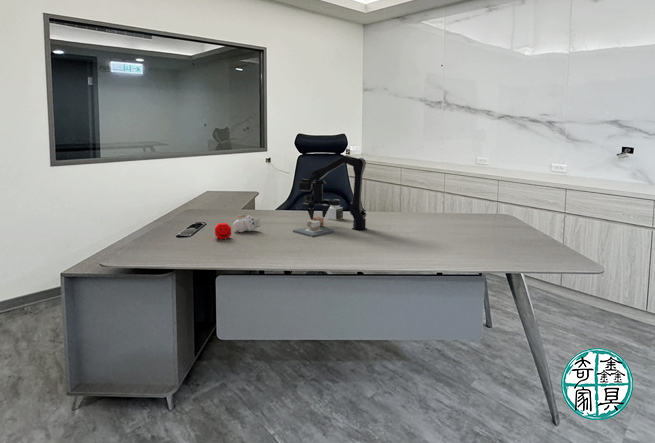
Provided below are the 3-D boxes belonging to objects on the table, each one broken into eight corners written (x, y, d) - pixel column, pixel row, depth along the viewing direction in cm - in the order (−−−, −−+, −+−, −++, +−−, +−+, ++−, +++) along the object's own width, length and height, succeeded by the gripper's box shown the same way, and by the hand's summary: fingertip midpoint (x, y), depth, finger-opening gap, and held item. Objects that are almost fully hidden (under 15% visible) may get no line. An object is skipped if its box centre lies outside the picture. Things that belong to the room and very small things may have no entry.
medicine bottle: (336, 220, 302) (336, 201, 300) (326, 218, 306) (327, 199, 304) (343, 218, 308) (343, 199, 305) (333, 217, 312) (333, 198, 309)
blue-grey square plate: (334, 232, 271) (334, 230, 271) (312, 237, 260) (312, 234, 260) (314, 227, 282) (314, 225, 282) (292, 231, 272) (292, 229, 271)
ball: (215, 240, 252) (215, 225, 250) (214, 236, 259) (214, 222, 258) (231, 239, 254) (231, 225, 252) (230, 236, 261) (230, 221, 260)
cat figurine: (230, 215, 269) (258, 211, 270) (232, 219, 276) (259, 216, 278) (232, 231, 266) (260, 227, 267) (234, 236, 273) (261, 232, 275)
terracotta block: (323, 226, 287) (323, 217, 285) (317, 227, 283) (317, 218, 282) (317, 224, 290) (317, 216, 289) (311, 226, 287) (311, 217, 286)
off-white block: (320, 230, 271) (320, 221, 270) (313, 231, 268) (313, 222, 267) (313, 228, 275) (313, 219, 274) (307, 229, 271) (307, 221, 270)
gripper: (320, 188, 294) (320, 214, 298) (296, 191, 282) (296, 218, 285) (333, 190, 286) (332, 217, 290) (308, 193, 274) (309, 221, 277)
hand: (317, 218), depth 286 cm, fingers open, 9 cm apart
